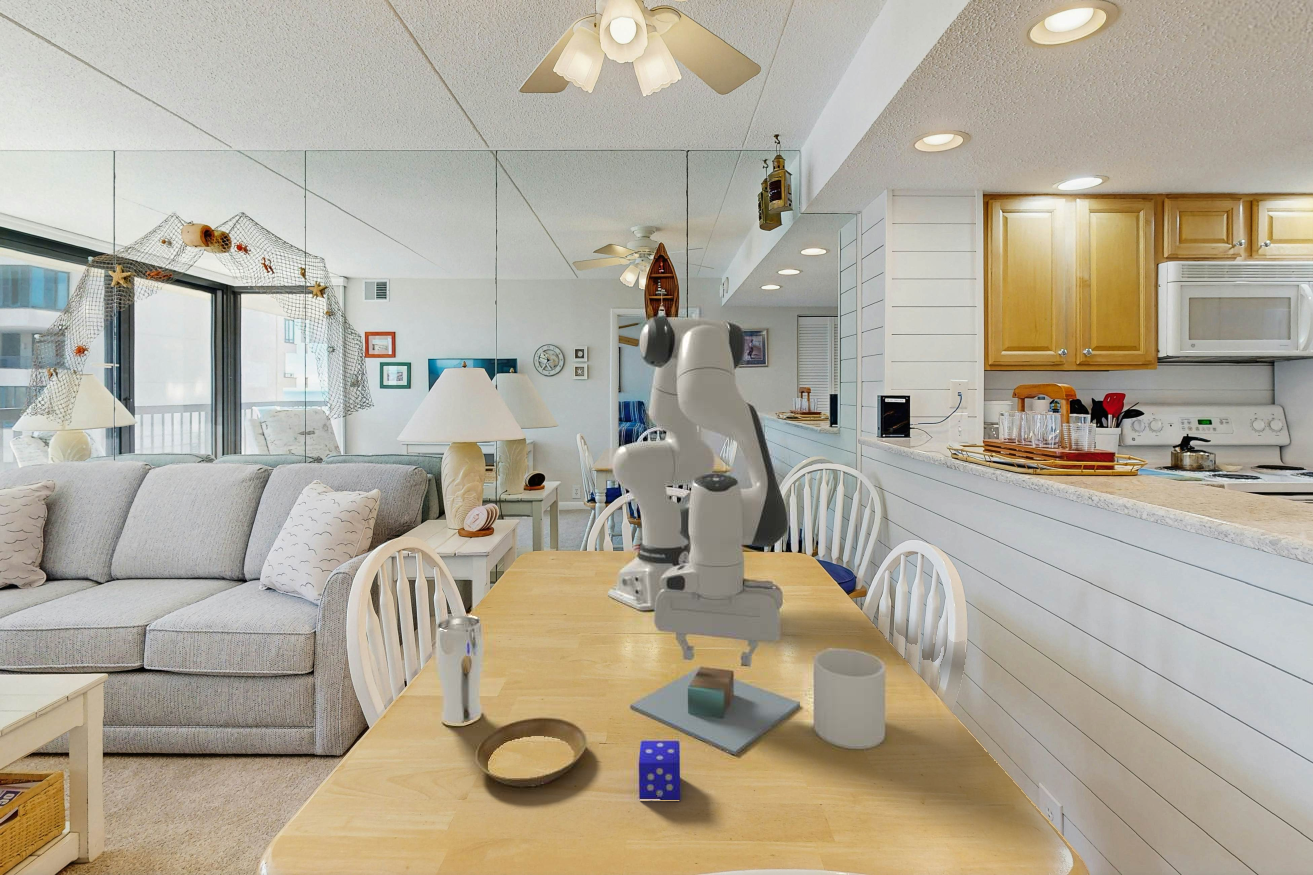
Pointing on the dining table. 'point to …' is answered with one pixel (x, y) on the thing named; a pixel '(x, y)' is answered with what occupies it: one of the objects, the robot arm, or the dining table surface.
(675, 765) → the die
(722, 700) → the green and brown block
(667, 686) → the slate mat
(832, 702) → the mug
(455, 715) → the silver metal tumbler
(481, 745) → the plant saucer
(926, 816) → the dining table surface
